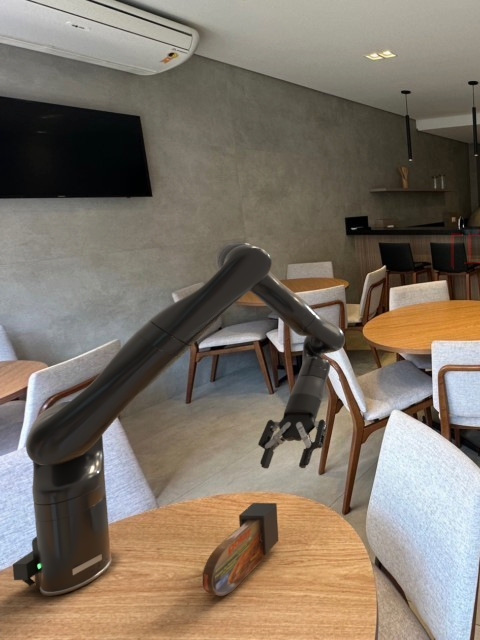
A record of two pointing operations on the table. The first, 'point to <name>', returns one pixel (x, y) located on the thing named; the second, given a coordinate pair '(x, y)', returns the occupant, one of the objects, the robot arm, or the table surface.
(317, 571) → the table surface
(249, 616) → the table surface
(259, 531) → the tin
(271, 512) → the dark grey stool
